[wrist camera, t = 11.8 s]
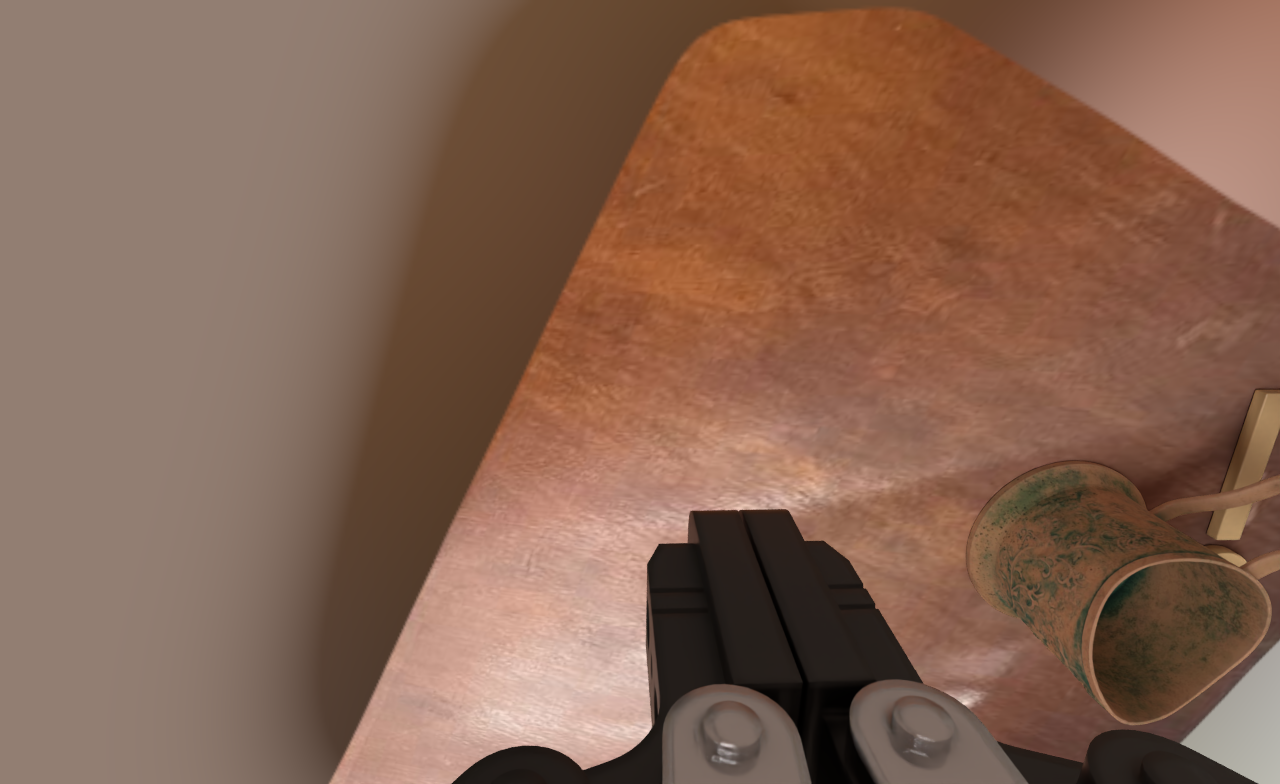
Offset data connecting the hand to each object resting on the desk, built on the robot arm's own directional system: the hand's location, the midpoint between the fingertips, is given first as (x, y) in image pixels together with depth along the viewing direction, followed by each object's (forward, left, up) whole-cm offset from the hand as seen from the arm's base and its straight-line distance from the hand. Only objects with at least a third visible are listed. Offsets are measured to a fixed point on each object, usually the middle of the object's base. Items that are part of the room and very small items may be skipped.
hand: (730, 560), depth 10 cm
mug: (+14, +29, -27) cm, 42 cm away
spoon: (+14, +38, -27) cm, 48 cm away
